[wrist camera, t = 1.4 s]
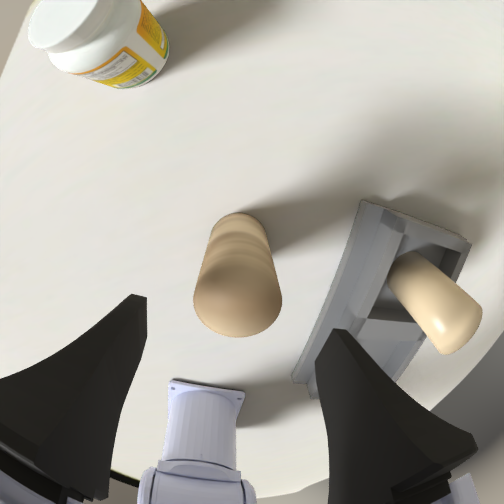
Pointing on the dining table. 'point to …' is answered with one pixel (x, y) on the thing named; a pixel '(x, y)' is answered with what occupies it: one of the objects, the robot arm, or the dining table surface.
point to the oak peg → (237, 279)
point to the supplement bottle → (101, 40)
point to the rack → (395, 293)
